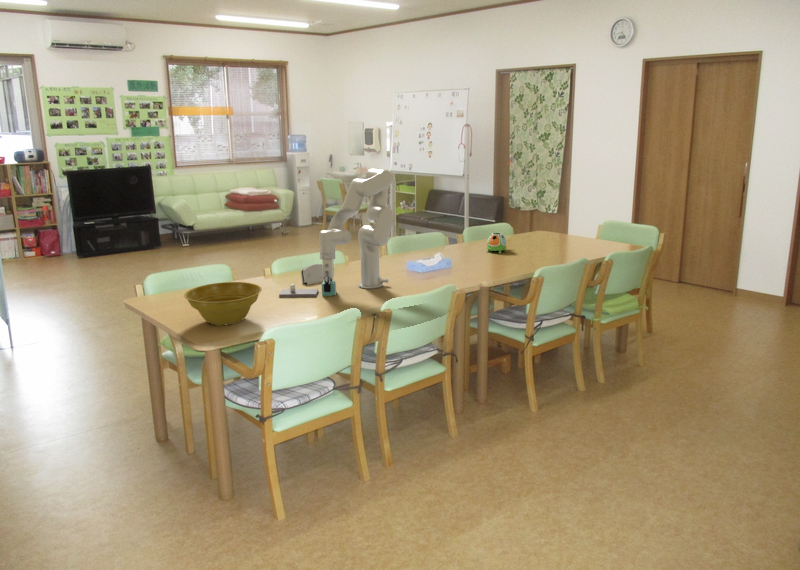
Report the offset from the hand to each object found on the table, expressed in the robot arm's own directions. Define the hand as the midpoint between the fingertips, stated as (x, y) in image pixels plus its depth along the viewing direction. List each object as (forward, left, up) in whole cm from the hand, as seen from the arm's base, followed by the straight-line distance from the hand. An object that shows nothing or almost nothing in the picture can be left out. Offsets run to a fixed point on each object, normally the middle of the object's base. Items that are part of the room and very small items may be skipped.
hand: (328, 289), depth 323 cm
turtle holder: (-99, -100, -3) cm, 141 cm away
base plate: (+15, 0, -2) cm, 15 cm away
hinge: (+9, -28, -3) cm, 29 cm away
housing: (0, 0, -2) cm, 2 cm away
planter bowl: (+41, +42, -3) cm, 58 cm away
